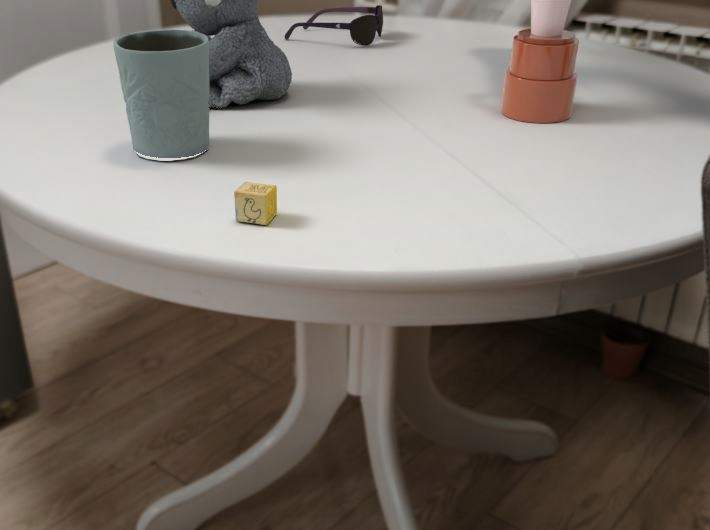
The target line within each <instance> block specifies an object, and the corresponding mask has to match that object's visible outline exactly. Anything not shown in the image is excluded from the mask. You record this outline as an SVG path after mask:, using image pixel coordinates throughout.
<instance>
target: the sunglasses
mask: <svg viewBox="0 0 710 530" xmlns="http://www.w3.org/2000/svg"><path fill="white" fill-rule="evenodd" d="M335 12H336V13H338V12H339V13H359V14H360V13H361V14H364V15H360V16H358V17H356V18H354V19H352V20H351V21H350V22H315V20H316V19H317V18H318V17H319V16H321V15H323V14H326V13H335ZM299 27H302V29H303V30H308V29H309V28H322V29H331V30H346V31H349V35H350V38H351V40H352V42H353V43H355V44H356V45H358V46H361V47H363V46H364V47H366V46H370V45H371V44H372V43H373V42H374V40H375V38H376V34H377V36H378V37H379V38H381V37H382V32H383V27H384V14H383V6H382V5H381V4H380V5H378V4H377V5H376V6H346V7H331V8H330V7H329V8H324V9H321V10H319V11H317V12H315V13H314V14H313V15H312V16H311V17H309V18H308V20H307V21H305V22H295V23H294V24H292V25H291V26H290V28H288V30H287V31H286V32H285V34H284V39H285V40H286V41H288V40H289V39H290V37H291V35H292V34H293V32H294V30H295V29H296V28H299Z"/></svg>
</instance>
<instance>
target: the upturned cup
mask: <svg viewBox="0 0 710 530" xmlns="http://www.w3.org/2000/svg"><path fill="white" fill-rule="evenodd" d="M579 44H580V39H578V38H577V37H576V33H574V32H572V31H569V30H565V29H563V33H562V35H560V36H555V37H544V36H537V35H533V34H531V27H530V28H523V29H521V30H519V31H518V32H517V34H515V35H513V37H512V45H511V53H510V61H509V67H507V68H506V69H505V71H504V78H503V87H502V94H501V95H502V96H501V103H500V104H501V106H500V113H501V114H502V115H503V116H505V117H507V118H509V119H511V120H514V121H520V122H524V123H531V124H532V123H533V124H552V123H560V122H563V121H567V120H568V119H570V118H572V115H573V113H572V112H573V107H574V101H575V96H576V90H577V84H578V83H577V82H578V76H579V75H578V72H576V63H577V57H578V51H579V46H580V45H579Z"/></svg>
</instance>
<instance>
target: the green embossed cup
mask: <svg viewBox="0 0 710 530" xmlns="http://www.w3.org/2000/svg"><path fill="white" fill-rule="evenodd" d="M112 46H113V51H114V56H115V61H116V65H117V69H118V76H119V81H120V87H121V93H122V96H123V101H124V103H125V113H126V117H127V121H128V127H129V131H130V136H131V142H132V143H131V145H132V149H133V151H134V150H135V151H136V152H138V153H140V154H142V155H145V156H150V157H156V158H157V157H158V158H181V157H189V156H194V155H196V154H199V153H202V152H204V151H205V150H207V149H208V147H209V148H210V108H209V104H208V100H209V39H208V37H207V36H206V35H204V34H202V33H199V32H195V31H191V30H188V29H172V28H171V29H169V28H168V29H166V28H164V29H162V28H161V29H147V30H139V31H133V32H129V33H124V34H122V35H119V36H117V37H116V38H115V39H114V40H113V42H112ZM208 150H209V149H208Z"/></svg>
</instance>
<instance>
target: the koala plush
mask: <svg viewBox="0 0 710 530" xmlns="http://www.w3.org/2000/svg"><path fill="white" fill-rule="evenodd" d="M169 1H170V4H171V6H172V8H173V9H174V10H176V11H177V12H178V13H179V15H180V16H181V18H182V19H183V20H184V22H185V23H187V25H188V26H189V27H190V28H191V30H190V31H195V32H199V33H202V34H204V35H206V36H207V37H208V39H209V100H208V104H209V107H210V108H211V107H212V108H213V109H216V108H218V107H223V108H227V107H228V106H229V105H230V104H231V103H232V102H233V103H235V104H236V105H239V106H243V105H245V104H249V103H250V102H253V101H255V100H259V101H260V100H261V101H267V100H271V101H272V100H276V99H279V98H281V97H282V96H283V95H284V94H286V93H287V92H288V90H289V88H290V86H291V84H292V79H293V72H292V67H291V66H290V61H289V59H288V56H287V55H286V53H285V52H284V51H283V50H282V48H280V47H279V46H278V45H276V44H275V43H274V41H273V40H272V39H271V38H270V36H269V35H268V32H267V31H266V29H265V27H264V26H263V25H262V22H261V21H260V17H259V15H258V14H257V9H258V8H257V7H258V0H169ZM212 36H213V37H212ZM242 104H243V105H242ZM214 107H216V108H214ZM218 109H219V108H218Z"/></svg>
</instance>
